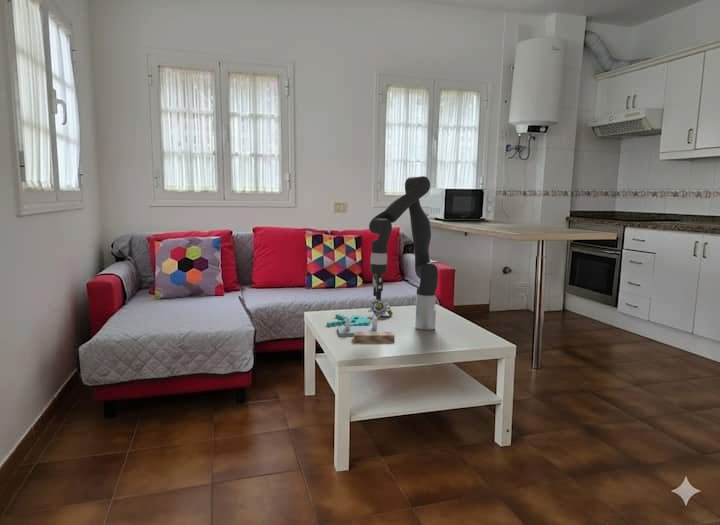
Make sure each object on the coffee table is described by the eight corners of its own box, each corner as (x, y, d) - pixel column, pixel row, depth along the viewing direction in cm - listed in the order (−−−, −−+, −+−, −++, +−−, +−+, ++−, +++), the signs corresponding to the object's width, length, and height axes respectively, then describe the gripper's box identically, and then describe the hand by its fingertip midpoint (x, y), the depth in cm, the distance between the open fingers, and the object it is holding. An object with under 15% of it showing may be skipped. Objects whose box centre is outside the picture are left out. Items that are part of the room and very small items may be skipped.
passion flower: (378, 327, 263) (366, 310, 260) (378, 319, 273) (366, 302, 270) (396, 317, 261) (383, 300, 258) (395, 309, 271) (383, 292, 268)
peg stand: (381, 328, 241) (381, 313, 240) (386, 335, 229) (386, 319, 228) (337, 329, 238) (337, 314, 237) (339, 336, 226) (339, 320, 225)
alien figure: (326, 327, 243) (365, 330, 239) (326, 323, 242) (365, 325, 239) (336, 317, 262) (372, 320, 258) (336, 313, 262) (373, 316, 258)
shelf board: (392, 339, 225) (392, 331, 224) (394, 342, 219) (394, 335, 218) (353, 339, 223) (353, 331, 223) (354, 343, 217) (354, 335, 217)
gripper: (389, 265, 213) (387, 301, 215) (384, 261, 227) (382, 295, 229) (372, 264, 212) (370, 300, 214) (368, 260, 226) (366, 294, 228)
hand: (376, 297), depth 222 cm, fingers open, 8 cm apart
